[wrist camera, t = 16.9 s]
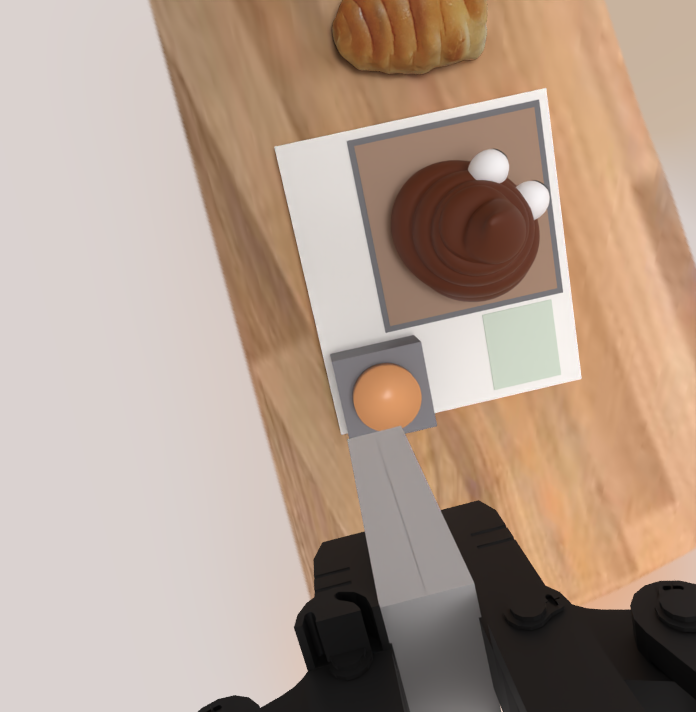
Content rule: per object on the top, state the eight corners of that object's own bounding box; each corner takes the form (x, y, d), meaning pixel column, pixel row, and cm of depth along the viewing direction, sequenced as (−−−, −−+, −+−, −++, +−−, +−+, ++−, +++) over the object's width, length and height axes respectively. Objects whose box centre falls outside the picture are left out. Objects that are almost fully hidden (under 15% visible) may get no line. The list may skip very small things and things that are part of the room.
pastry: (349, 101, 36) (353, 85, 32) (317, -9, 34) (319, -40, 30) (485, 59, 36) (506, 38, 32) (460, -53, 34) (478, -89, 31)
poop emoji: (363, 242, 36) (383, 244, 27) (437, 130, 35) (484, 93, 26) (480, 324, 38) (535, 351, 29) (554, 220, 37) (636, 214, 28)
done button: (343, 363, 38) (347, 375, 35) (405, 348, 38) (414, 359, 35) (356, 421, 39) (361, 438, 36) (416, 407, 39) (427, 423, 36)
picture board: (275, 149, 36) (272, 139, 32) (539, 91, 36) (564, 76, 33) (340, 430, 40) (343, 447, 37) (574, 375, 41) (599, 387, 37)
